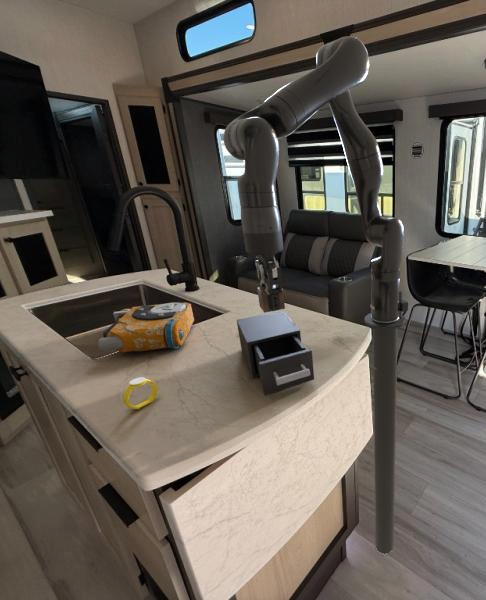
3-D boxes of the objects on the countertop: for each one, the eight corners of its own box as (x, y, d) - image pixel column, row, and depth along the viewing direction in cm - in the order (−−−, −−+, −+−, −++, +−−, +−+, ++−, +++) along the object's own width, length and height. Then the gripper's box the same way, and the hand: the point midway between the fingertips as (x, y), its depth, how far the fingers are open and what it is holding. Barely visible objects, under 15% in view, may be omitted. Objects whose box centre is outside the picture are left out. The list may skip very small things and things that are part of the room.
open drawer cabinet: (321, 389, 71) (319, 358, 69) (269, 406, 66) (264, 374, 63) (295, 353, 86) (292, 327, 84) (251, 365, 81) (246, 337, 78)
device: (71, 338, 78) (120, 299, 105) (82, 367, 81) (127, 322, 108) (176, 326, 85) (198, 292, 112) (183, 353, 88) (202, 313, 115)
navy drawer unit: (303, 363, 83) (300, 330, 80) (252, 377, 77) (247, 342, 74) (286, 339, 96) (282, 310, 92) (241, 350, 89) (236, 319, 86)
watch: (133, 415, 65) (125, 390, 62) (124, 411, 66) (116, 387, 63) (162, 398, 70) (155, 374, 68) (154, 395, 71) (147, 372, 69)
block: (279, 302, 74) (277, 284, 72) (285, 308, 70) (283, 289, 69) (259, 306, 72) (256, 287, 70) (264, 312, 68) (261, 293, 67)
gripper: (290, 232, 61) (298, 313, 67) (272, 224, 73) (280, 294, 79) (249, 235, 58) (262, 321, 63) (237, 226, 69) (248, 300, 75)
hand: (272, 306), depth 71 cm, fingers closed on block, 4 cm apart
